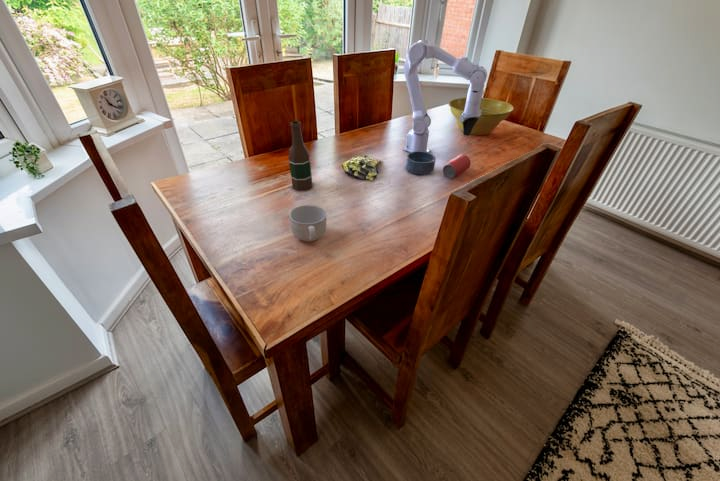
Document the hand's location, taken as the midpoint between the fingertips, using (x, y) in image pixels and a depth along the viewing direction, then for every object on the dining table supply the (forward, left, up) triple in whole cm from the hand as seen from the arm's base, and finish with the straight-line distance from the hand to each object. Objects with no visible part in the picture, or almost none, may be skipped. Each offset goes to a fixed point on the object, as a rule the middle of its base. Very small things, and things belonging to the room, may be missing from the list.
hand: (466, 135), depth 138 cm
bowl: (-6, -23, -10) cm, 26 cm away
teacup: (0, -85, -11) cm, 86 cm away
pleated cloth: (-22, -39, -11) cm, 46 cm away
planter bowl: (-14, +36, -11) cm, 40 cm away
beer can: (+6, -10, -7) cm, 14 cm away
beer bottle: (-28, -67, -11) cm, 73 cm away
